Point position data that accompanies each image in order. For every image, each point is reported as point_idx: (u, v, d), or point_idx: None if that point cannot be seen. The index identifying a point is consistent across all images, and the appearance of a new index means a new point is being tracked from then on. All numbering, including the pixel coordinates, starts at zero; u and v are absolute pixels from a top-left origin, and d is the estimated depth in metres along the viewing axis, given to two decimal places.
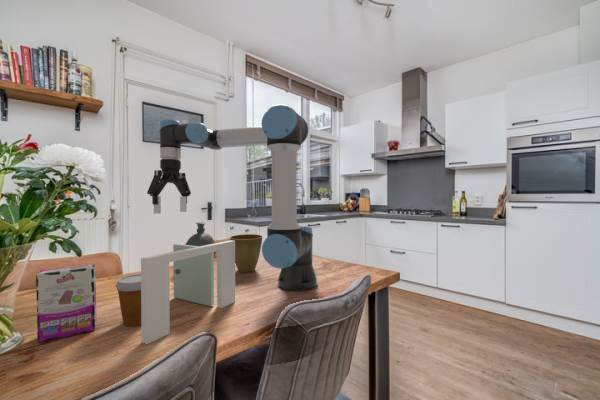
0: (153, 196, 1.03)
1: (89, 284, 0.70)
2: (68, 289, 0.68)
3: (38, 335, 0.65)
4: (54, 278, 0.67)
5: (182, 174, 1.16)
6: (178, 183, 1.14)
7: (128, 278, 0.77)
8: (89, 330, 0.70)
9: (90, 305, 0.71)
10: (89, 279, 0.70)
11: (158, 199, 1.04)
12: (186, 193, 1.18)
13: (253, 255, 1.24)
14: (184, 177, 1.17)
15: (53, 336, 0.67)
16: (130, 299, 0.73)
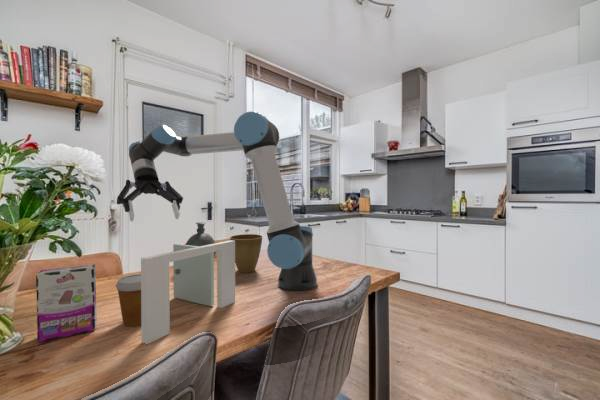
0: (123, 203, 0.89)
1: (89, 284, 0.70)
2: (68, 289, 0.68)
3: (38, 335, 0.65)
4: (54, 278, 0.67)
5: (165, 183, 1.02)
6: (160, 190, 0.99)
7: (128, 278, 0.77)
8: (89, 330, 0.70)
9: (90, 305, 0.71)
10: (89, 279, 0.70)
11: (129, 203, 0.89)
12: (175, 198, 0.99)
13: (253, 255, 1.24)
14: (168, 185, 1.02)
15: (53, 336, 0.67)
16: (130, 299, 0.73)
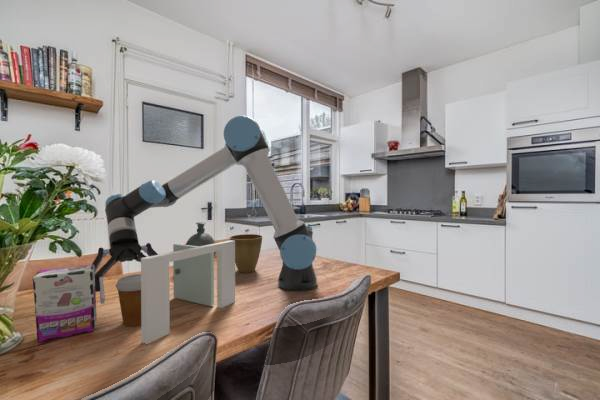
0: None
1: (88, 287, 0.69)
2: (66, 292, 0.67)
3: (37, 336, 0.65)
4: (51, 281, 0.65)
5: (146, 245, 0.89)
6: (139, 256, 0.85)
7: (128, 278, 0.77)
8: (89, 330, 0.70)
9: (89, 307, 0.69)
10: (88, 282, 0.69)
11: (100, 281, 0.75)
12: None
13: (253, 255, 1.24)
14: (149, 247, 0.88)
15: (53, 336, 0.67)
16: (130, 299, 0.73)
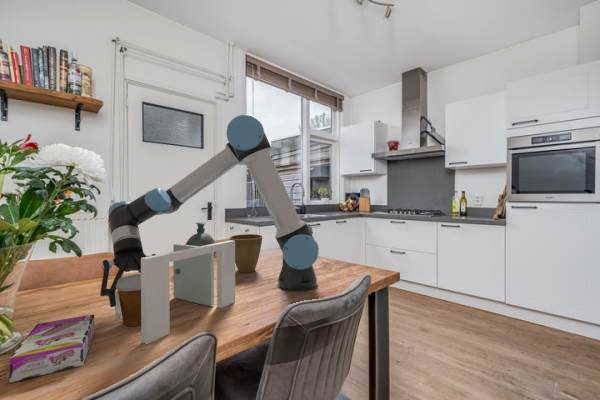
0: (108, 295, 0.73)
1: None
2: None
3: None
4: None
5: None
6: None
7: (128, 278, 0.77)
8: None
9: None
10: None
11: (115, 296, 0.73)
12: None
13: (253, 255, 1.24)
14: None
15: None
16: (130, 299, 0.73)
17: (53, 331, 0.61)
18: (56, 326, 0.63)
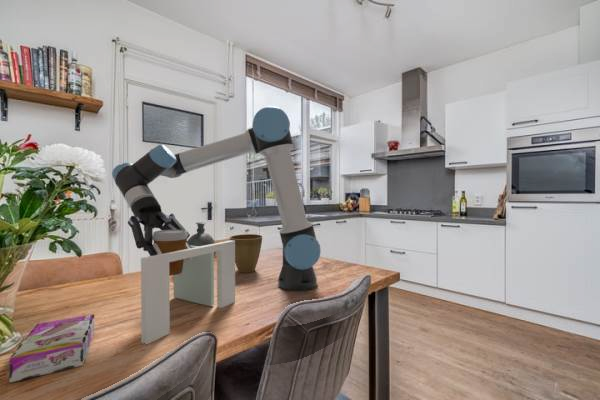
0: (147, 247, 0.75)
1: None
2: None
3: None
4: None
5: (170, 215, 0.89)
6: (165, 224, 0.84)
7: (160, 232, 0.80)
8: None
9: None
10: None
11: (155, 247, 0.76)
12: None
13: (253, 255, 1.24)
14: (173, 218, 0.88)
15: None
16: (172, 248, 0.77)
17: (53, 331, 0.61)
18: (56, 326, 0.63)
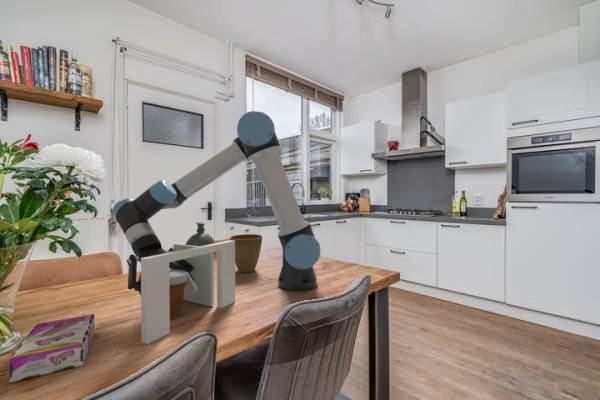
0: (138, 288, 0.74)
1: None
2: None
3: None
4: None
5: (169, 250, 0.89)
6: None
7: None
8: None
9: None
10: None
11: None
12: (186, 268, 0.87)
13: (253, 255, 1.24)
14: None
15: None
16: (171, 292, 0.77)
17: (53, 331, 0.61)
18: (56, 326, 0.63)
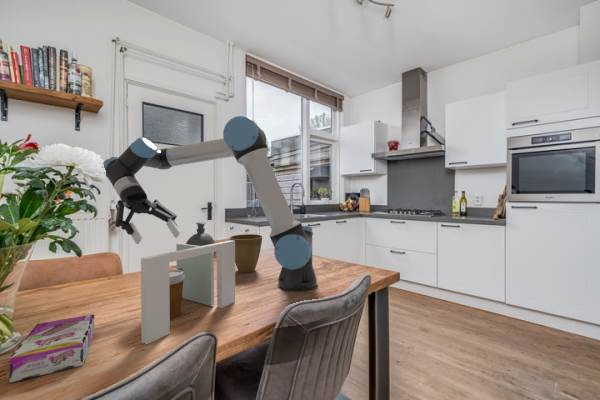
0: (124, 226, 0.84)
1: None
2: None
3: None
4: None
5: (154, 201, 0.99)
6: (153, 209, 0.96)
7: None
8: None
9: None
10: None
11: (131, 226, 0.85)
12: (170, 216, 0.98)
13: (253, 255, 1.24)
14: (158, 203, 1.00)
15: None
16: None
17: (53, 331, 0.61)
18: (56, 326, 0.63)
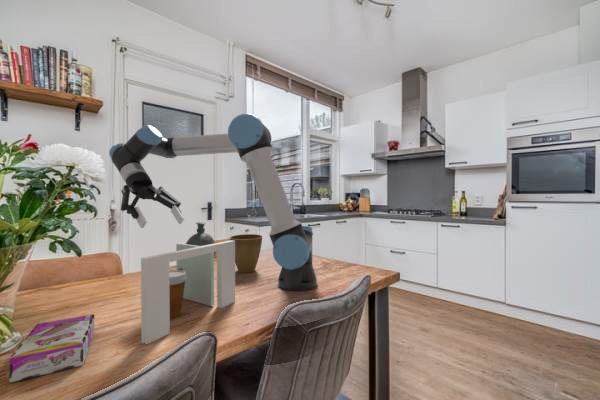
0: (129, 210, 0.86)
1: None
2: None
3: None
4: None
5: (159, 188, 1.01)
6: (158, 195, 0.97)
7: None
8: None
9: None
10: None
11: (137, 210, 0.86)
12: (174, 203, 1.00)
13: (253, 255, 1.24)
14: (163, 190, 1.01)
15: None
16: (169, 292, 0.77)
17: (53, 331, 0.61)
18: (56, 326, 0.63)
